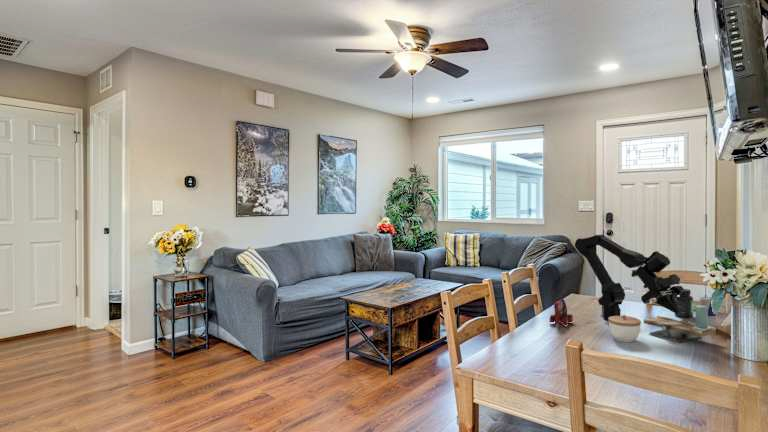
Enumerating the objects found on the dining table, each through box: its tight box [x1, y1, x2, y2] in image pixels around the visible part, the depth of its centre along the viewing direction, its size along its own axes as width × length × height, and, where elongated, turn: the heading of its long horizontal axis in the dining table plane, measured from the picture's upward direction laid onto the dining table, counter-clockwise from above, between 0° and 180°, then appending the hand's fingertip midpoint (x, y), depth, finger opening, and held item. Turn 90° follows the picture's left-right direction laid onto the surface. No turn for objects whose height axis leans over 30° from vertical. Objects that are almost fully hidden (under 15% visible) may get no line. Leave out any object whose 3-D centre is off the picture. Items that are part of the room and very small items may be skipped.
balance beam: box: [643, 315, 717, 338], centre depth 163 cm, size 21×9×2 cm, turn 24°
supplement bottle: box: [674, 288, 694, 319], centre depth 189 cm, size 7×7×12 cm
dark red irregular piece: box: [549, 298, 574, 325], centre depth 184 cm, size 7×12×10 cm, turn 139°
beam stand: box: [649, 318, 702, 344], centre depth 164 cm, size 11×14×5 cm
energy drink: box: [698, 296, 717, 329], centre depth 172 cm, size 5×5×12 cm
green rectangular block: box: [692, 304, 712, 332], centre depth 155 cm, size 4×6×9 cm, turn 114°
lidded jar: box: [607, 314, 642, 343], centre depth 161 cm, size 11×11×9 cm
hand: (678, 313), depth 162 cm, fingers closed
